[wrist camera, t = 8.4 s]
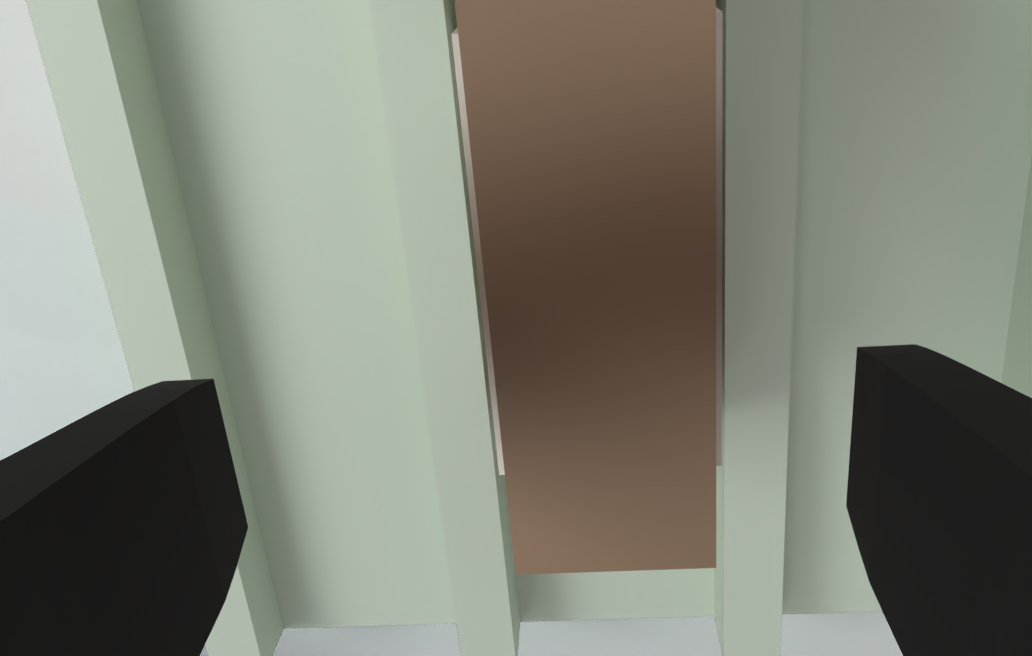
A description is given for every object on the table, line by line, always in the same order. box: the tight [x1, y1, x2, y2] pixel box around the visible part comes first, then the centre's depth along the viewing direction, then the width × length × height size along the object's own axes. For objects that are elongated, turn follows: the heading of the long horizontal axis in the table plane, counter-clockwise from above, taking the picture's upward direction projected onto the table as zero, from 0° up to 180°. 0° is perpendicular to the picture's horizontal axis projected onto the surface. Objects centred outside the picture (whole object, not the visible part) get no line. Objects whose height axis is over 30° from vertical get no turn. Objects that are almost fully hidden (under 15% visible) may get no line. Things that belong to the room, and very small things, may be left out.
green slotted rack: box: [26, 0, 1032, 656], centre depth 18 cm, size 20×18×2 cm
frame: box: [451, 0, 723, 575], centre depth 15 cm, size 9×3×6 cm, turn 5°
